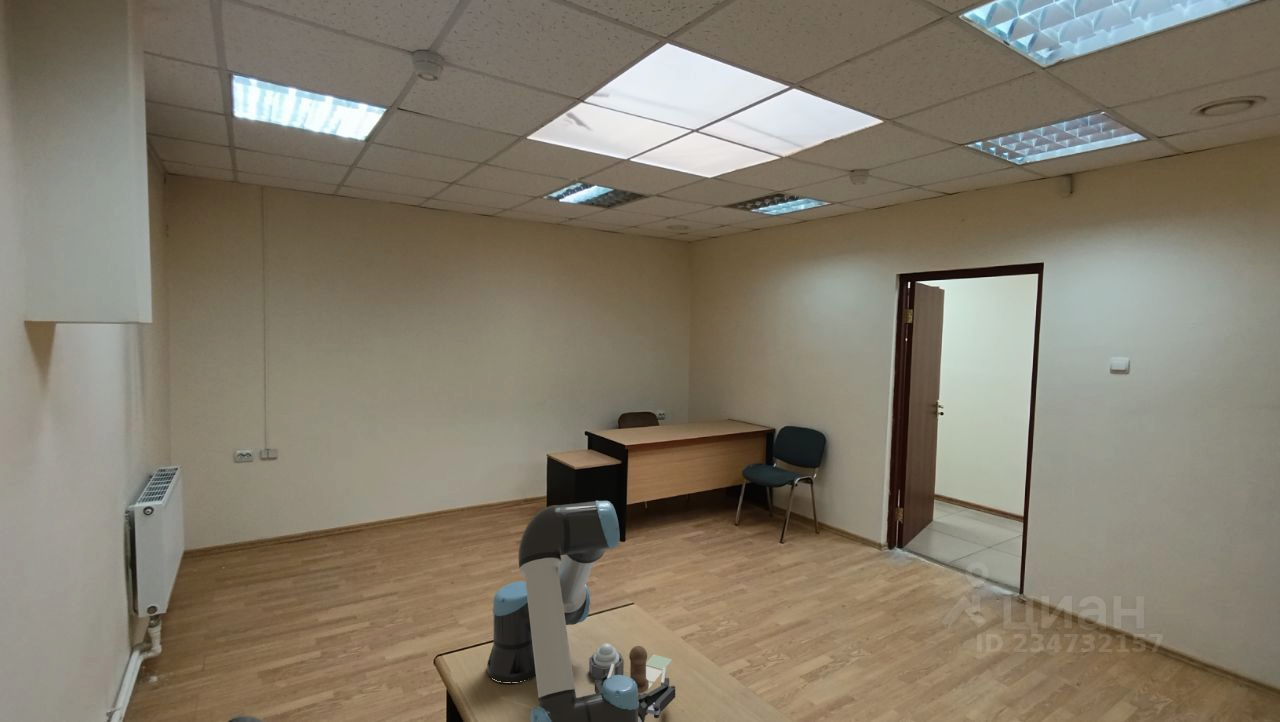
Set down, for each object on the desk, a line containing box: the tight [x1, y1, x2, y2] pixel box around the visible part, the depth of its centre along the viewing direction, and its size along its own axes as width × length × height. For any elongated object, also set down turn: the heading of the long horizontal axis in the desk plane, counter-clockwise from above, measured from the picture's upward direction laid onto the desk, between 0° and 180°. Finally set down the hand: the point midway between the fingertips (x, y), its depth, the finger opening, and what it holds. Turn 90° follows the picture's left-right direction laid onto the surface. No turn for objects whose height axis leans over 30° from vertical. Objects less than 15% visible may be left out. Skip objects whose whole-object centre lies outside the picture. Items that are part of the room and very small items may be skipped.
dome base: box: [588, 651, 625, 681], centre depth 160 cm, size 9×9×4 cm
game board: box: [638, 654, 673, 696], centre depth 159 cm, size 9×20×1 cm, turn 153°
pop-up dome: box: [593, 642, 619, 668], centre depth 160 cm, size 7×7×6 cm
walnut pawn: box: [628, 645, 650, 693], centre depth 153 cm, size 6×6×11 cm
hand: (638, 670), depth 150 cm, fingers open, 13 cm apart
